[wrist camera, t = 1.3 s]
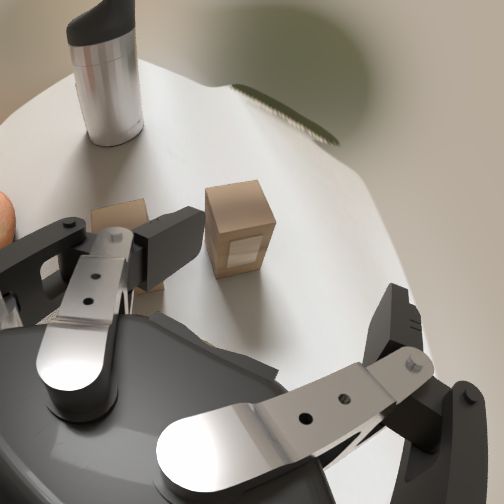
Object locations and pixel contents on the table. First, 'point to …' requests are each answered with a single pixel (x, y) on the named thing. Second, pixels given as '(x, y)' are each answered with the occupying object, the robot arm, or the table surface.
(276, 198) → the table surface
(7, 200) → the ceramic jug
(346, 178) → the table surface
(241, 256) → the numbered block
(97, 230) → the numbered block
